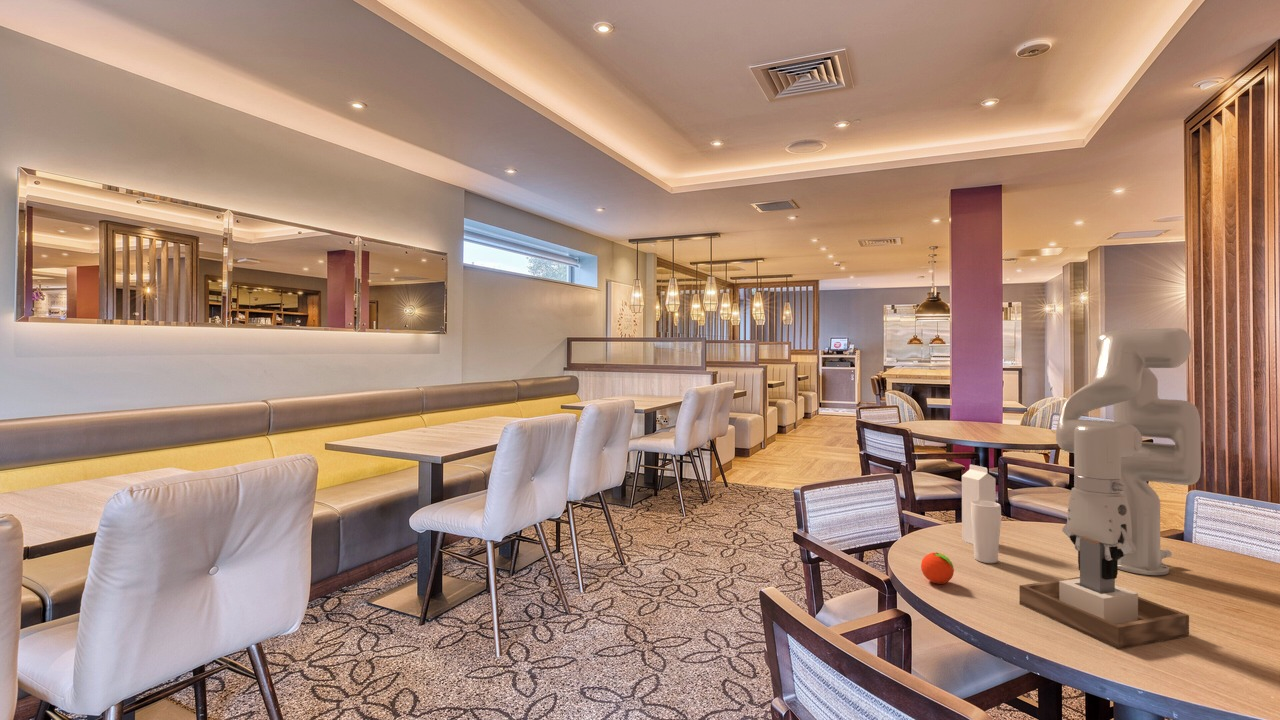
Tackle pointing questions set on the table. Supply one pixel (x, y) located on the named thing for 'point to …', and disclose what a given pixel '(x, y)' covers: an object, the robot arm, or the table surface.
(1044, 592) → the crate
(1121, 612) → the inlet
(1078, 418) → the robot arm
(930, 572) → the clementine
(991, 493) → the milk
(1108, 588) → the plug
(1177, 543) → the table surface
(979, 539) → the drinking glass
